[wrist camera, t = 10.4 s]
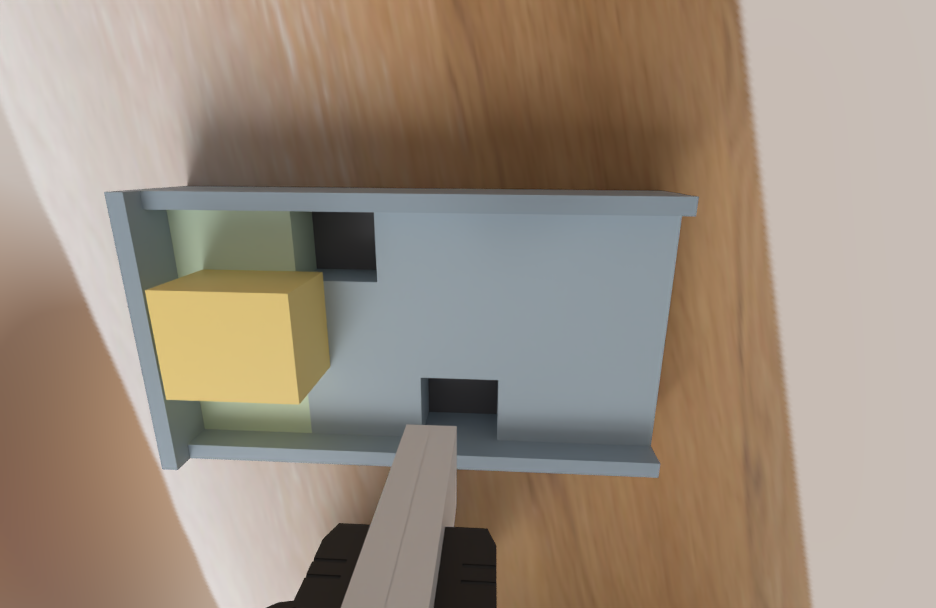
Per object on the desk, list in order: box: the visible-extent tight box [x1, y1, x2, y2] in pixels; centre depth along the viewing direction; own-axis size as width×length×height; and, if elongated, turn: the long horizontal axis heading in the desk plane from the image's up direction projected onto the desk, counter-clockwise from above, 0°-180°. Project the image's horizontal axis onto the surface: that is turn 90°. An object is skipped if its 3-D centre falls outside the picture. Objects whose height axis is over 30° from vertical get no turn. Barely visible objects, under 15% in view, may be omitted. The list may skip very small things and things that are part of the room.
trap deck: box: [104, 186, 699, 478], centre depth 24 cm, size 14×25×6 cm, turn 90°
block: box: [145, 269, 330, 405], centre depth 22 cm, size 5×6×4 cm
